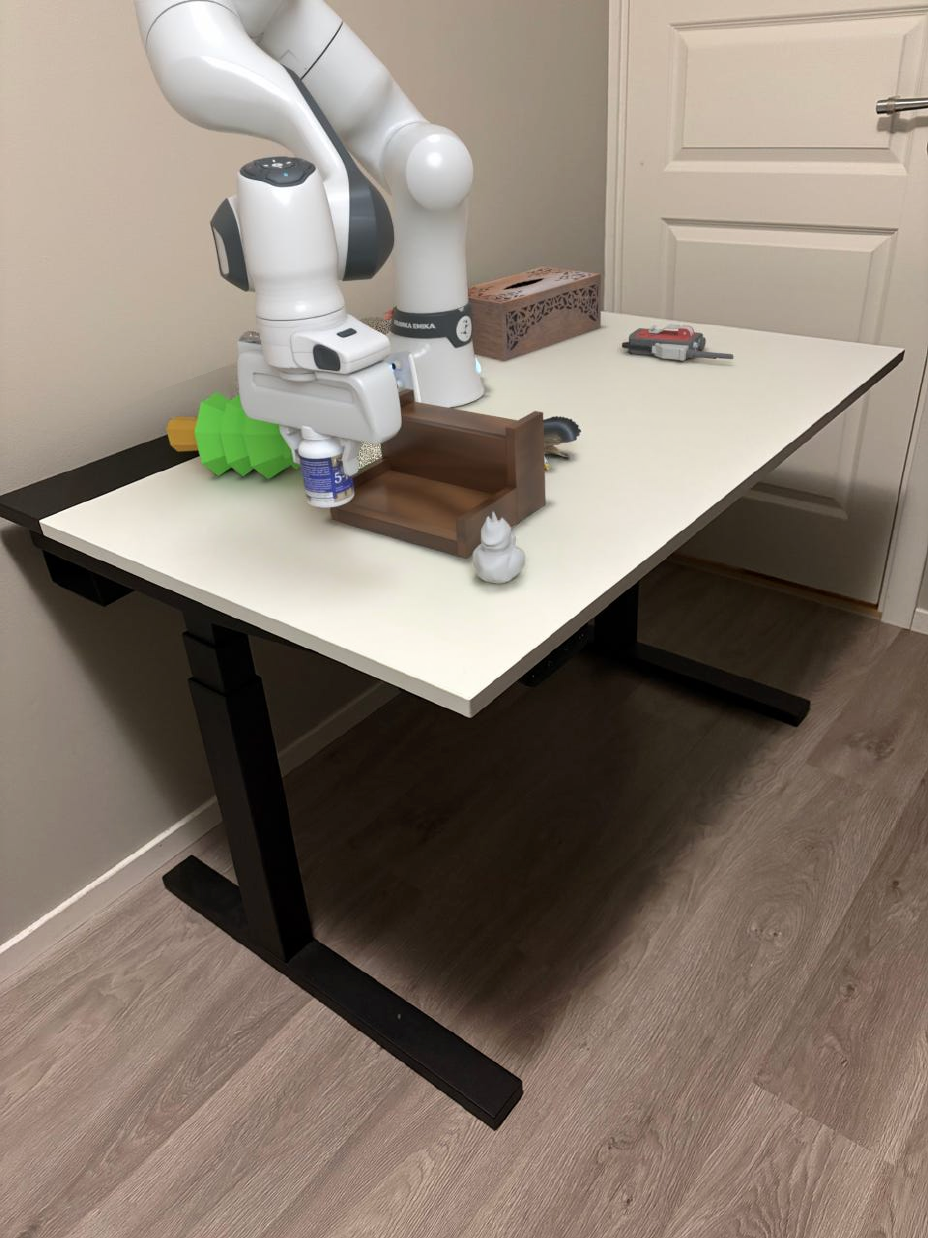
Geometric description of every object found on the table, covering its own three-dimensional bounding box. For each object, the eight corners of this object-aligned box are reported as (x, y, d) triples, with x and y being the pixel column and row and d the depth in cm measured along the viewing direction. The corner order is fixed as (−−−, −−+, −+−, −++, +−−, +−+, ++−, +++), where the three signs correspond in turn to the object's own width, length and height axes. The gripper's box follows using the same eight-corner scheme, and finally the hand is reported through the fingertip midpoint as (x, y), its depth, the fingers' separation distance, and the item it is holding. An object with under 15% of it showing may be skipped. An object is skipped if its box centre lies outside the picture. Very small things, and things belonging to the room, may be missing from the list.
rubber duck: (464, 587, 98) (458, 517, 94) (488, 558, 103) (484, 491, 99) (513, 595, 96) (509, 524, 92) (535, 565, 101) (533, 496, 97)
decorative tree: (174, 374, 129) (377, 371, 120) (209, 437, 138) (401, 438, 128) (139, 432, 123) (350, 433, 113) (178, 494, 131) (377, 499, 122)
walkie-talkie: (615, 356, 163) (730, 367, 154) (616, 330, 161) (732, 340, 152) (635, 342, 169) (746, 352, 160) (635, 317, 167) (749, 325, 158)
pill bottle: (346, 509, 101) (334, 430, 96) (300, 508, 102) (286, 430, 97) (361, 488, 105) (349, 412, 101) (316, 488, 106) (303, 412, 102)
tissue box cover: (504, 361, 166) (501, 303, 161) (449, 349, 175) (445, 293, 170) (600, 328, 180) (600, 273, 175) (545, 318, 190) (543, 266, 184)
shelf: (467, 558, 103) (459, 459, 97) (331, 520, 114) (317, 429, 108) (545, 504, 114) (543, 411, 108) (415, 473, 125) (406, 388, 119)
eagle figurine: (538, 476, 118) (592, 445, 121) (510, 425, 118) (565, 395, 121) (513, 489, 125) (565, 460, 129) (487, 441, 125) (539, 413, 128)
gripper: (212, 336, 98) (239, 461, 105) (359, 358, 87) (378, 496, 94) (257, 321, 102) (279, 442, 109) (402, 340, 91) (417, 473, 99)
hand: (326, 467), depth 102 cm, fingers closed on pill bottle, 5 cm apart
